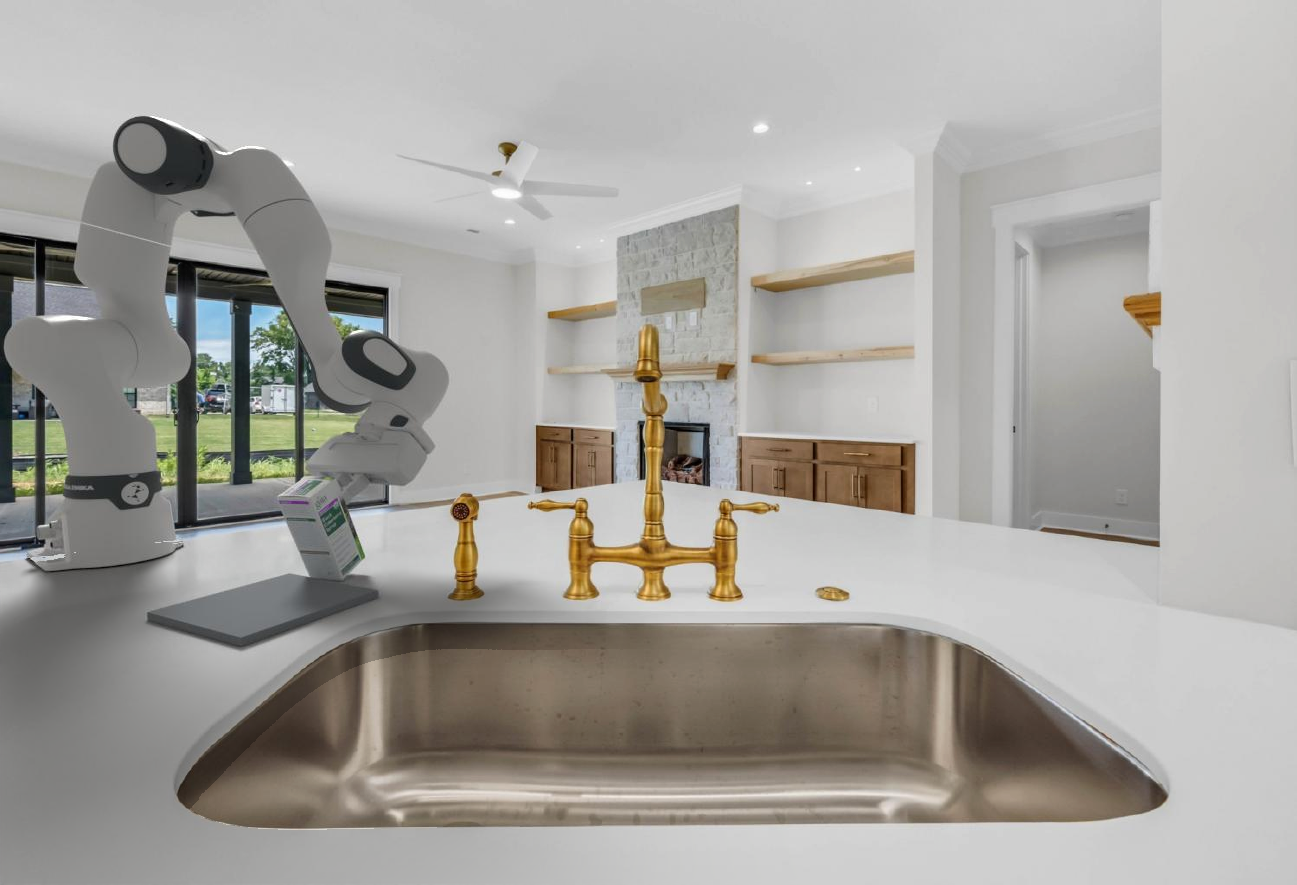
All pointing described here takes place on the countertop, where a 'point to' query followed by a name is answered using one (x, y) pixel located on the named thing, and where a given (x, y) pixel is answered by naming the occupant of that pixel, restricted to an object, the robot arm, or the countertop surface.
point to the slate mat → (261, 608)
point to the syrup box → (321, 527)
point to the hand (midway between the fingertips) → (335, 502)
